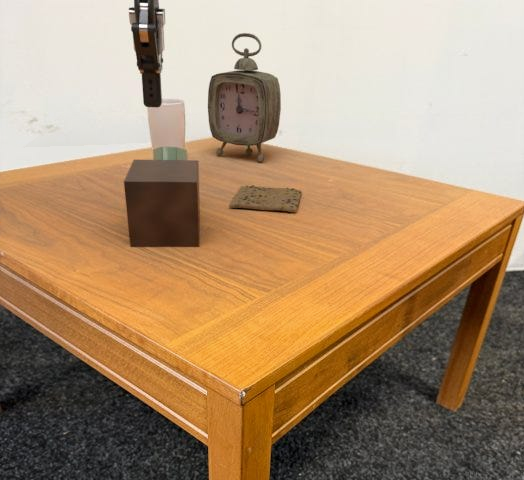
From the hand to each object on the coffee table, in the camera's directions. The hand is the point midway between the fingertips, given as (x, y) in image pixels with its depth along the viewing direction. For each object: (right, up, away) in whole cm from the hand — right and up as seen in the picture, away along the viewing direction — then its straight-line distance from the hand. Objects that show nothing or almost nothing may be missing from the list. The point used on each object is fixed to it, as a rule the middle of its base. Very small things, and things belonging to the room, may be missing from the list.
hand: (153, 106), depth 70 cm
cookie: (+15, -4, +30) cm, 34 cm away
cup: (-1, -3, +19) cm, 19 cm away
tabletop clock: (+10, +14, +58) cm, 60 cm away
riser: (-1, -13, +15) cm, 20 cm away
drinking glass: (-4, +1, +37) cm, 37 cm away
